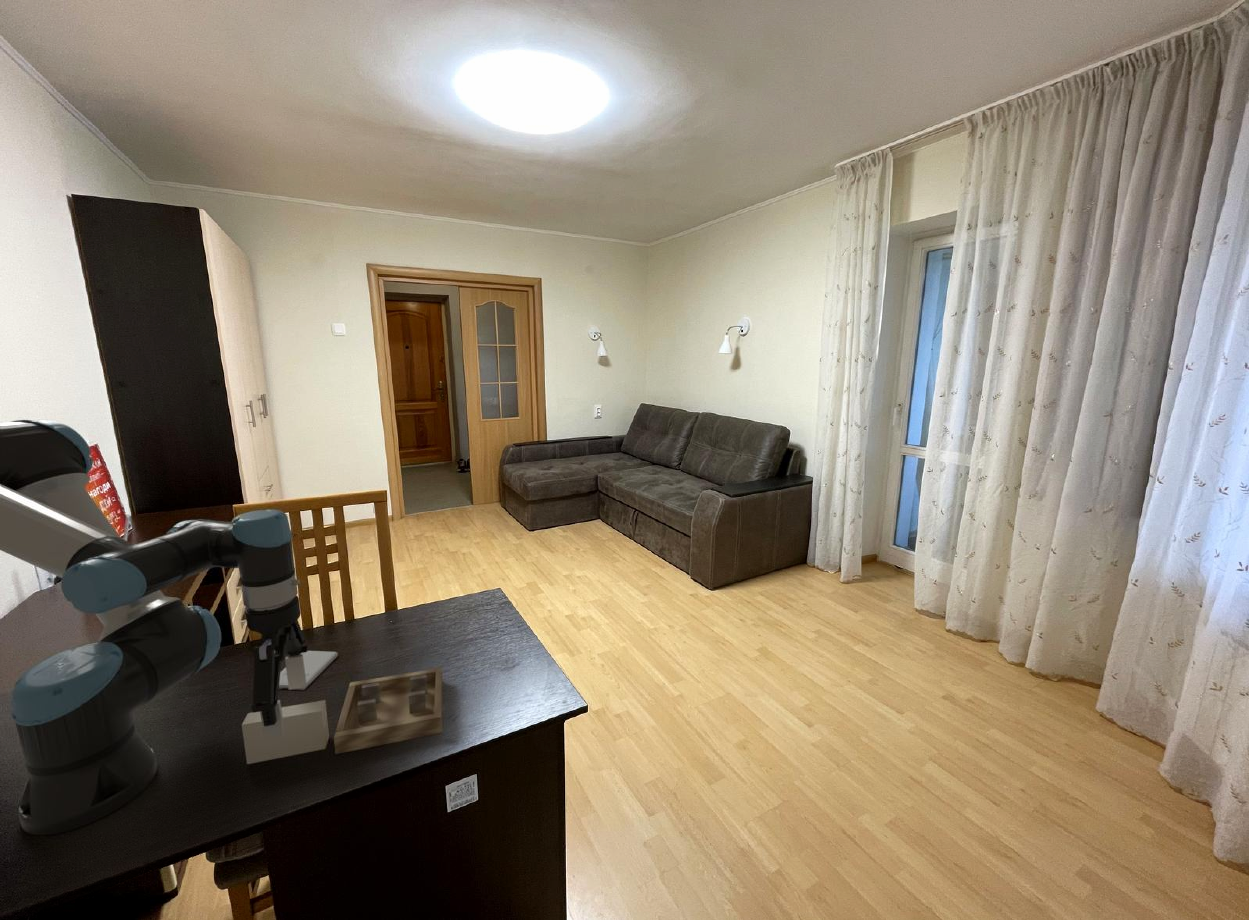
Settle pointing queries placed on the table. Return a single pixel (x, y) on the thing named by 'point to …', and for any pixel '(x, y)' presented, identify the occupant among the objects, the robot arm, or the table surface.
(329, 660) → the external hard drive
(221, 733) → the table surface
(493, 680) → the table surface
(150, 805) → the table surface
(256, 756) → the beige rectangular block
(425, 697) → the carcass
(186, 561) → the robot arm
